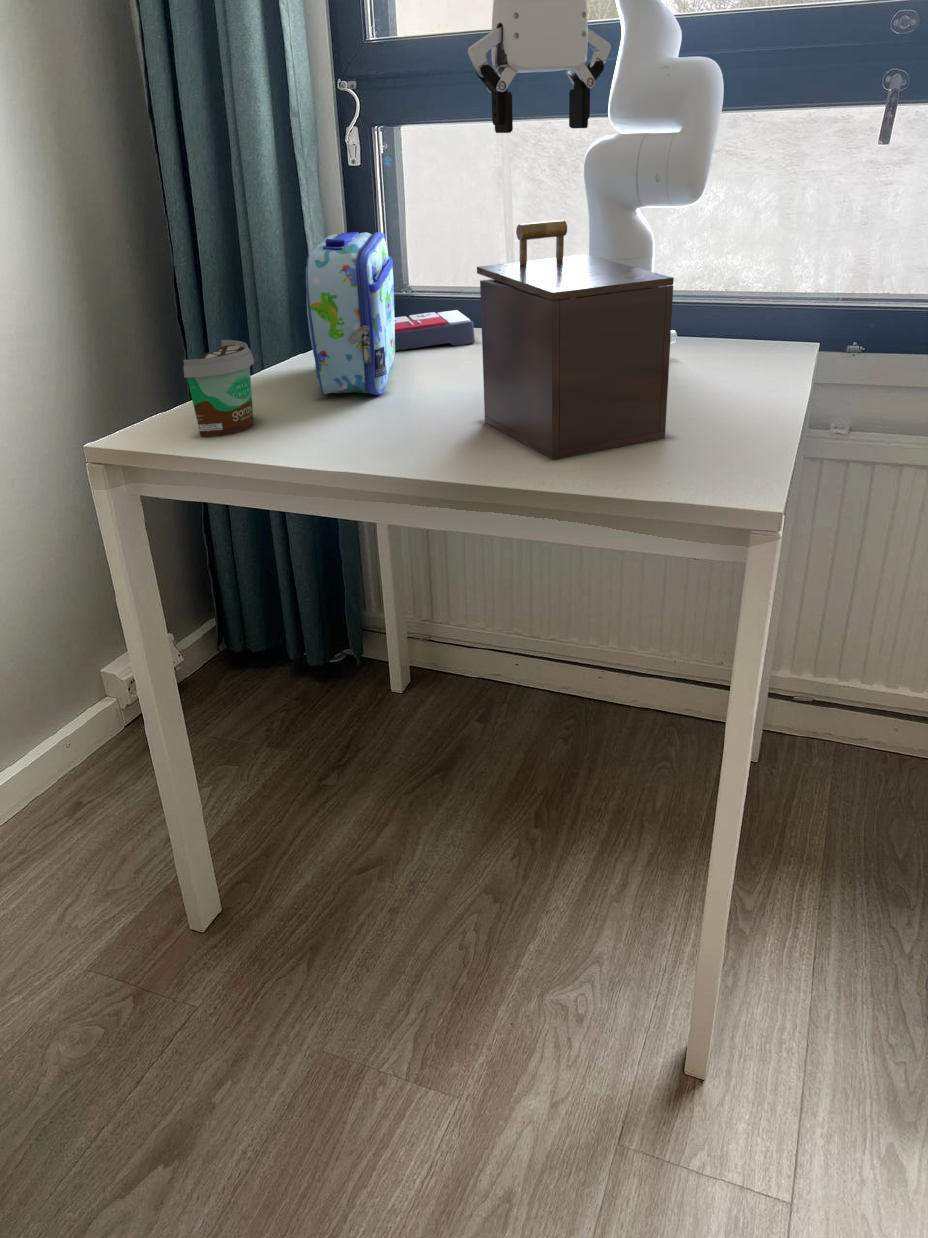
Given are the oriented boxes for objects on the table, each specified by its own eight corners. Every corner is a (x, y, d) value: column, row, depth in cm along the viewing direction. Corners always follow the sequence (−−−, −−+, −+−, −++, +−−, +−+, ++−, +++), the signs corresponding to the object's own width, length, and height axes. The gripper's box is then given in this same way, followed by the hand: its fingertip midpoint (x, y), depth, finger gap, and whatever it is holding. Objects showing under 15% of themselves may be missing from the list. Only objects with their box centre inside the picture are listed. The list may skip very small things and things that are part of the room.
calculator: (376, 318, 171) (458, 306, 174) (379, 342, 173) (460, 330, 176) (386, 329, 162) (473, 316, 164) (389, 355, 164) (475, 342, 166)
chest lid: (476, 273, 117) (475, 225, 114) (586, 260, 122) (588, 214, 120) (552, 300, 102) (553, 246, 99) (673, 284, 107) (677, 232, 105)
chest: (484, 422, 125) (479, 280, 117) (587, 404, 130) (589, 267, 122) (552, 460, 110) (552, 300, 102) (665, 438, 116) (673, 285, 107)
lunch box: (387, 402, 135) (374, 242, 125) (310, 405, 136) (292, 245, 126) (403, 359, 158) (394, 221, 148) (338, 362, 159) (324, 224, 149)
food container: (240, 441, 122) (228, 360, 117) (195, 440, 123) (181, 360, 118) (276, 413, 133) (266, 338, 128) (234, 412, 134) (223, 338, 129)
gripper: (592, -45, 109) (589, 126, 117) (451, -47, 103) (459, 134, 111) (629, -56, 103) (624, 126, 111) (482, -58, 97) (487, 134, 105)
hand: (541, 130), depth 111 cm, fingers open, 9 cm apart
